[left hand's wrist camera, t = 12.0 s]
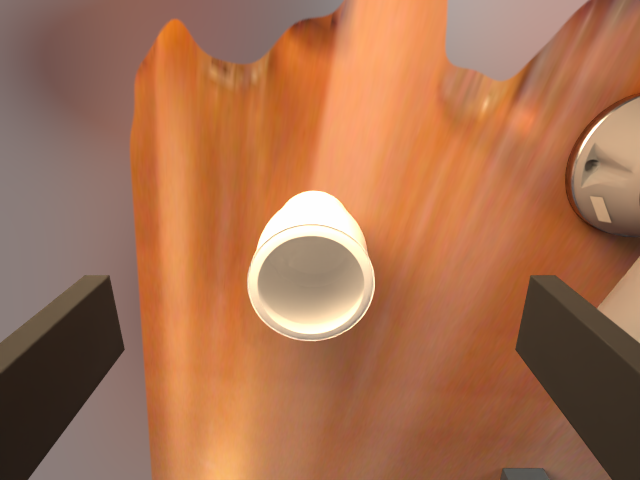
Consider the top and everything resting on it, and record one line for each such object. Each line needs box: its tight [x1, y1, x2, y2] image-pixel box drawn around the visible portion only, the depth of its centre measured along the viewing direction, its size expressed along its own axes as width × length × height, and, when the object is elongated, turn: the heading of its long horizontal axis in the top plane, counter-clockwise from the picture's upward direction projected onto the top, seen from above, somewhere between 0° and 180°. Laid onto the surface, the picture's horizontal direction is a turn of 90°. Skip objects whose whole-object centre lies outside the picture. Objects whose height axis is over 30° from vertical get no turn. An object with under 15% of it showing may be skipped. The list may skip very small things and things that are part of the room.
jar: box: [247, 191, 375, 341], centre depth 39 cm, size 11×10×15 cm
